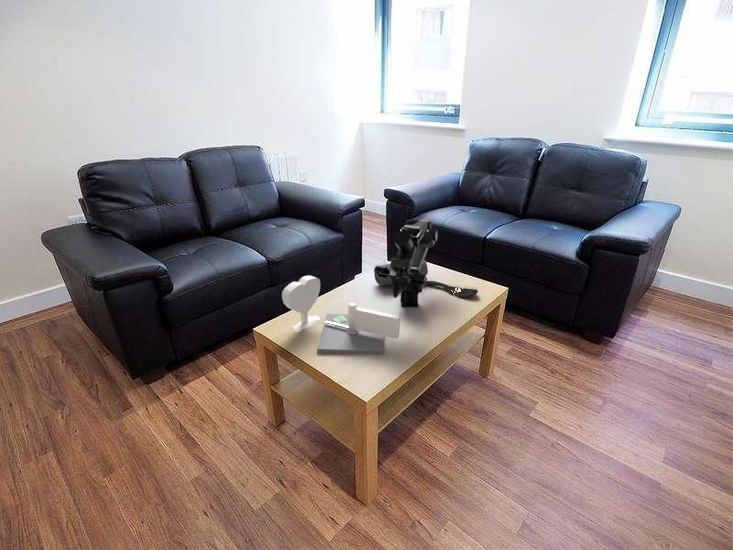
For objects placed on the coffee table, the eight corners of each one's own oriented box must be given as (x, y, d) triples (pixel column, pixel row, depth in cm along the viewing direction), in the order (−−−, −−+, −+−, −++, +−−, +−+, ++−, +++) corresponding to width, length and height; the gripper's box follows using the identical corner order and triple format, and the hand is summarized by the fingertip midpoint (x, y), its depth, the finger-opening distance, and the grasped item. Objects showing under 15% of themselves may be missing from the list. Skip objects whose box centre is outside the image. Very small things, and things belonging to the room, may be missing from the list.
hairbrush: (426, 274, 176) (480, 285, 163) (426, 281, 178) (480, 293, 165) (418, 281, 170) (474, 293, 157) (418, 289, 171) (473, 301, 158)
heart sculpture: (314, 312, 151) (311, 271, 143) (323, 317, 149) (321, 275, 141) (284, 331, 140) (279, 287, 132) (294, 335, 137) (289, 291, 130)
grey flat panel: (384, 318, 147) (384, 314, 146) (383, 354, 128) (383, 349, 127) (327, 317, 148) (326, 312, 148) (317, 352, 129) (316, 347, 128)
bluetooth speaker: (382, 291, 167) (382, 270, 162) (373, 282, 175) (373, 262, 170) (427, 282, 175) (429, 261, 170) (417, 273, 182) (418, 254, 178)
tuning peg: (323, 324, 140) (322, 300, 135) (327, 320, 142) (326, 296, 138) (396, 342, 130) (397, 317, 125) (399, 337, 132) (400, 312, 128)
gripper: (375, 244, 136) (363, 285, 132) (427, 252, 130) (416, 295, 126) (383, 256, 146) (372, 295, 142) (431, 264, 140) (421, 305, 135)
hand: (394, 297), depth 136 cm, fingers closed
